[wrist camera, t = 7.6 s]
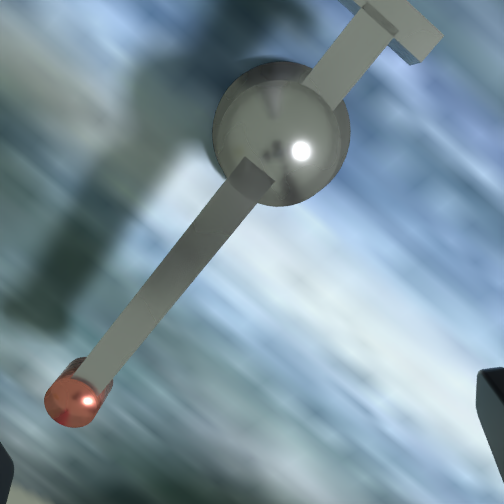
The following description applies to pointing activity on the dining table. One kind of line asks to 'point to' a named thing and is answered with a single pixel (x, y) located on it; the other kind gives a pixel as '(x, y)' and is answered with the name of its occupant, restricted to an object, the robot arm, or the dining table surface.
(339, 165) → the clip post
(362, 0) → the clip
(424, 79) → the dining table surface
